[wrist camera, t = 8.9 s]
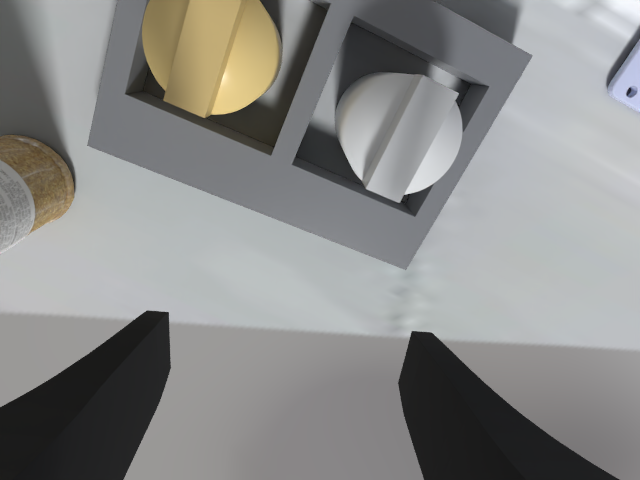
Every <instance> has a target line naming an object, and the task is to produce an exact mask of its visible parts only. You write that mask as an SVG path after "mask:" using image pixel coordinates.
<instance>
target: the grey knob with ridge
mask: <svg viewBox="0 0 640 480" xmlns="http://www.w3.org/2000/svg"><path fill="white" fill-rule="evenodd" d="M458 95H459V93H458V92H456V91H454V90H452V89H450V88H448V87H446V86H444V85H442V84H440V83H438V82H436V81H434V80H432V79H430V78H428V77H426V76H424V75H419V74H415V75H412V74H402V73H391V72H376V73H371V74H368V75H365V76H363V77H361V78H359V79H358V80H356V81H355V82H354V83H352V84H351V85H350V86H349V87H348V88H347V89H346V91H345V92H344V94H343V95H342V97H341V99H340V101H339V103H338V106H337V109H336V113H335V130H336V134H337V138H338V140H339V142H340V144H341V147H342V149H343V151H344V153H345V155H346V157H347V159H348V161H349V163H350V165H351V167H352V169H353V170H354V172H355V174H356V175H357V176H358V177H359V178H360V179H361V180H362V182H363V184H364V186H365V188H366V189H367V190H370V191H372V192H374V193H377V194H379V195H381V196H384V197H386V198H388V199H391V200H393V201H395V202H398V203H400V201H401V199H402V198H403V196H404V195H405V194H411V193H415V192H418V191H421V190H423V189H425V188H427V187H429V186H430V185H432V184H434V183H435V182H436V181H438V180H439V179H440V178H441V177H442V176H443V175H444V174H445V173H446V172H447V170H448V169H449V168H450V166H451V165H452V163H453V162H454V160H455V158H456V156H457V154H458V151H459V148H460V145H461V140H462V132H463V130H462V118H461V114H460V110H459V108H458V105H457V103H456V101H455V100H456V98H457V96H458Z"/></svg>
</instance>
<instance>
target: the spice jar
mask: <svg viewBox="0 0 640 480" xmlns="http://www.w3.org/2000/svg"><path fill="white" fill-rule="evenodd" d="M73 199H74V182H73V178H72V175H71V172H70V171H69V169H68V166H67V164H66V163H65V162H64V161H63V159H62V158H61V157H60V156H59V155H58V154H57V153H55V152H54V151H53V150H52V149H51V148H50V147H48V146H46V145H45V144H44V143H42V142H40V141H38V140H36V139H33V138H29V137H26V136H16V135H4V136H1V137H0V254H2V253H3V252H5V251H6V250H8V249H9V248H11V247H13V246H14V245H16V244H17V243H19V242H20V241H22V240H23V239H24V238H25V237H26V236H27V235H29V234H30V233H31V232H33V231H34V230H36V229H38V228H39V227H41V226H43V225H44V224H46V223H50V222H53V221H54V220H56V219H58V218H60V217H61V216H62V215H63V214H64V213H66V211H67V210H68V209H69V207H70V206H71V203H72V201H73Z"/></svg>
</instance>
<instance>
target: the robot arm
mask: <svg viewBox="0 0 640 480" xmlns="http://www.w3.org/2000/svg"><path fill="white" fill-rule="evenodd" d="M630 87H631V92H630V94H629V95H628V96H626V92H627V90H628V88H630ZM608 93H609V95H610V96H611V97H612V98H614V99H616V100H618V101H619V102H621V103H623V104H625V105H627V106H628V107H630V108H632V109H634V110H636V111H637V112H639V113H640V39H639V41H638V42H637V44H636V45H635V47H634V48H633V50H632V51H631V53H630V54H629V56H628V57H627V59H626V60H625V62H624V63H623V64H622V66H621V67H620V69H619V70H618V72H617V73H616V75H615V76H614V78H613V79H612V81H611V82H610V84H609V86H608ZM170 368H171V365H170V339H169V312H159V311H146V312H144V313H143V314H141V315H140V316H139V317H137V318H136V319H135V320H133V321H132V322H131V323H129V324H128V325H127V326H126V327H124V328H123V329H122V330H120V331H119V332H118V333H116V334H115V335H114V336H113V337H111V338H110V339H108V340H107V341H106V342H104V343H103V344H102V345H100V346H99V347H97V348H96V349H95V350H93V351H92V352H90V353H89V354H88V355H86V356H85V357H83V358H82V359H80V360H79V361H77V362H76V363H74V364H73V365H71V366H70V367H68V368H67V369H65V370H64V371H62V372H61V373H59V374H58V375H56V376H54V377H53V378H51V379H50V380H48V381H46V382H45V383H43V384H41V385H40V386H38V387H36V388H35V389H33V390H31V391H29V392H27V393H26V394H24V395H22V396H20V397H19V398H17V399H15V400H13V401H11V402H9V403H8V404H6V405H4V406H2V407H0V480H123V479H124V477H125V475H126V473H127V470H128V468H129V466H130V464H131V462H132V460H133V458H134V456H135V454H136V451H137V449H138V447H139V445H140V443H141V441H142V439H143V436H144V434H145V432H146V430H147V428H148V426H149V424H150V422H151V419H152V417H153V415H154V413H155V411H156V409H157V406H158V404H159V402H160V399H161V396H162V393H163V390H164V387H165V384H166V381H167V378H168V375H169V372H170ZM398 384H399V390H400V396H401V402H402V407H403V412H404V417H405V420H406V423H407V426H408V430H409V433H410V436H411V440H412V443H413V446H414V449H415V452H416V455H417V458H418V462H419V465H420V468H421V471H422V474H423V477H424V480H619V479H617V478H615V477H614V476H612V475H610V474H609V473H607V472H605V471H604V470H602V469H600V468H599V467H597V466H595V465H594V464H592V463H591V462H589V461H587V460H586V459H584V458H583V457H581V456H580V455H578V454H577V453H575V452H574V451H572V450H571V449H569V448H568V447H566V446H564V445H563V444H561V443H560V442H559V441H557V440H556V439H554V438H553V437H551V436H550V435H548V434H547V433H546V432H545V431H543V430H542V429H540V428H539V427H538V426H536V425H535V424H534V423H532V422H531V421H530V420H528V419H527V418H526V417H524V416H523V415H522V414H521V413H519V412H518V411H517V410H516V409H514V408H513V407H512V406H511V405H510V404H508V403H507V402H506V401H505V400H503V399H502V398H501V397H500V396H499V395H498V394H497V393H495V392H494V391H493V390H492V389H491V388H490V387H489V386H488V385H486V384H485V383H484V382H483V381H482V380H481V379H480V378H478V377H477V375H476V374H474V373H473V372H472V371H471V370H470V369H469V368H468V367H467V366H466V365H465V364H464V363H463V362H462V361H461V360H460V359H459V358H458V357H457V356H456V355H455V354H454V353H453V352H452V351H450V350H449V348H447V347H446V346H445V345H444V344H443V343H442V342H441V341H440V340H439V339H438V338H437V337H436V336H435V335H434V334H432V333H430V332H417V331H412V333H411V337H410V341H409V344H408V349H407V352H406V356H405V360H404V363H403V367H402V371H401V375H400V379H399V382H398Z"/></svg>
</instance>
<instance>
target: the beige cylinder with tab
mask: <svg viewBox="0 0 640 480" xmlns="http://www.w3.org/2000/svg"><path fill="white" fill-rule="evenodd" d="M142 40H143V48H144V53H145V56H146V59H147V62H148V65H149V67H150V69H151V71H152V73H153V75H154V77H155V78H156V80H157V81H158V83H159V84H160V85H161V87H162V88H163V89H164V90H165V91H166V92H165V95H164V99H163V101H165V102H168V103H170V104H172V105H175V106H177V107H179V108H182V109H184V110H186V111H189V112H191V113H193V114H196V115H198V116H201V117H203V118H206V117H208V116H210V115H211V114H213V115H218V114H227V113H232V112H235V111H238V110H240V109H242V108H244V107H246V106H247V105H249V104H250V103H252V102H253V101H254V100H256V99H257V98H258V97H260V96H261V95H263V94H264V93H265V92H266V91H267V90H268V89H269V88H270V87H271V86H272V85H273V83H274V82H275V80H276V78H277V76H278V74H279V71H280V68H281V63H282V43H281V38H280V35H279V32H278V30H277V27H276V25H275V23H274V22H273V20H272V18H271V17H270V15H269V14H268V12H267V11H266V9H265V8H264V6H263V5H262V3H261V2H260V0H150V1H149V3H148V5H147V8H146V11H145V14H144V19H143V25H142Z"/></svg>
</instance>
